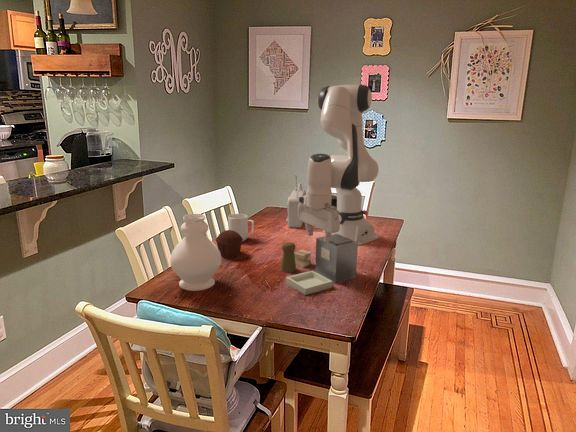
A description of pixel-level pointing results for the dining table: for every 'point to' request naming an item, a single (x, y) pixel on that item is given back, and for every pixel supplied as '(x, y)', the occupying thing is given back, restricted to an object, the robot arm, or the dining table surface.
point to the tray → (309, 282)
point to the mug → (240, 224)
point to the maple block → (302, 258)
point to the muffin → (229, 243)
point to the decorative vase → (195, 255)
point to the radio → (294, 206)
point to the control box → (336, 258)
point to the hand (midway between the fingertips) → (317, 238)
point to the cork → (288, 258)
